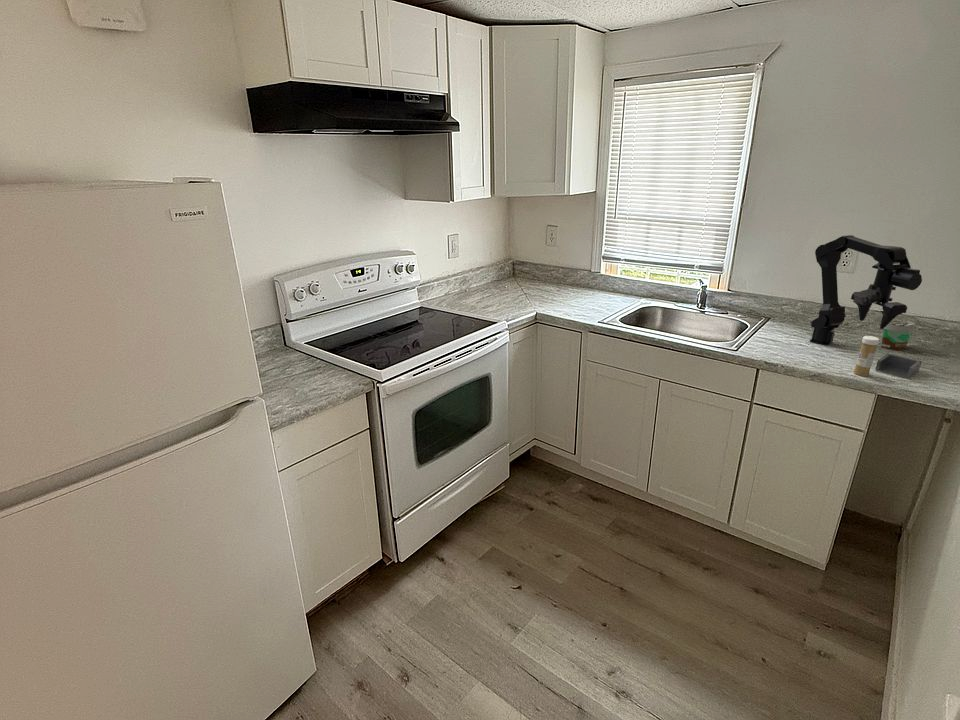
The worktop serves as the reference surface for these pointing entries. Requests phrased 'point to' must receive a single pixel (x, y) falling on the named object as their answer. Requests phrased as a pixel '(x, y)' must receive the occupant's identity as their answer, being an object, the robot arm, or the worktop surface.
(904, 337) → the food container
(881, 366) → the dark grey shallow tray
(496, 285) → the worktop surface
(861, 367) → the sprinkles bottle
